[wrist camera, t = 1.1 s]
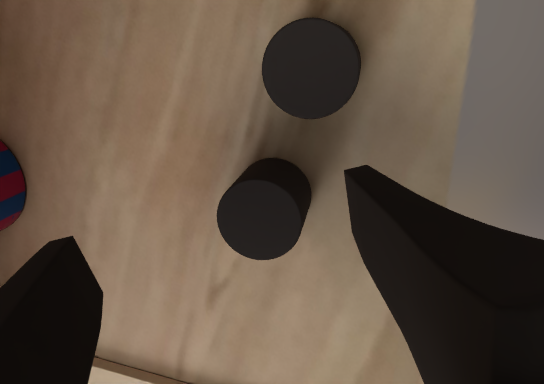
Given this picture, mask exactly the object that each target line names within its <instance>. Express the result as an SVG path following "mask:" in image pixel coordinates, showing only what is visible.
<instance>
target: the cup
mask: <svg viewBox="0 0 544 384" xmlns="http://www.w3.org/2000/svg"><path fill="white" fill-rule="evenodd" d="M24 202H25V182H24V178H23V174H22V171H21V169H20V166H19V164H18V162H17V161H16V159H15V157H14V156H13V154H12V153H11V152H10V150H9V149H8V148H7V147H6V146H5V145H4V144H3V143H2V142H1V141H0V231H1V230H3V229H5V228H7V227H8V226H9V225H11V224H12V223H14V221H15V220H16V219H17V218H18V217H19V215H20V213H21V211H22V209H23V206H24Z"/></svg>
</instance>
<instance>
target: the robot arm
mask: <svg viewBox="0 0 544 384" xmlns="http://www.w3.org/2000/svg"><path fill="white" fill-rule="evenodd" d="M344 175H345V182H346V190H347V197H348V205H349V213H350V220H351V228H352V233H353V236H354V239H355V241H356V244H357V247H358V249H359V252H360V254H361V257H362V259H363V262H364V264H365V266H366V268H367V270H368V271H369V273H370V275H371V277H372V279H373V281H374V282H375V284H376V286H377V288H378V290H379V291H380V293H381V295H382V297H383V299H384V300H385V302H386V304H387V306H388V308H389V310H390V311H391V313H392V315H393V317H394V319H395V320H396V322H397V324H398V326H399V328H400V330H401V332H402V334H403V336H404V338H405V340H406V342H407V344H408V346H409V348H410V351H411V353H412V356H413V358H414V360H415V363H416V365H417V367H418V370H419V372H420V375H421V377H422V379H423V382H424V384H544V240H542V239H537V238H533V237H529V236H525V235H522V234H518V233H514V232H511V231H507V230H504V229H500V228H497V227H494V226H491V225H487V224H485V223H482V222H479V221H477V220H474V219H471V218H469V217H466V216H463V215H461V214H458V213H456V212H454V211H451V210H449V209H447V208H445V207H443V206H440V205H438V204H436V203H434V202H432V201H430V200H428V199H426V198H424V197H422V196H420V195H418V194H416V193H414V192H413V191H411V190H409V189H407V188H405V187H404V186H402V185H400V184H398V183H397V182H395V181H393V180H392V179H390V178H388V177H387V176H385V175H383V174H382V173H380V172H378V171H377V170H375V169H373V168H372V167H370V166H368V165H364V166H359V167H355V168H351V169H347V170H344ZM102 306H103V291H102V290H101V288H100V286H99V284H98V282H97V280H96V278H95V276H94V275H93V273H92V271H91V269H90V267H89V265H88V263H87V261H86V260H85V258H84V256H83V254H82V252H81V250H80V248H79V246H78V245H77V243H76V241H75V239H74V237H73V236H70V237H66V238H62V239H57V240H53V241H50V242H48V243H47V244H46V245H45V246H43V247H42V248H41V249H40V250H39V251H38V252H37V253H36V254H35V255H34V256H33V257H31V258H30V259H29V260H28V261H27V262H26V263H25V264H24V265H23V266H22V267H21V268H20V269H19V270H18V271H17V272H16V273H15V274H14V275H13V276H12V277H11V278H10V279H9V280H8V281H7V282H6V283H5V284H4V285H3V286H2V287H1V288H0V384H88V381H89V377H90V373H91V368H92V364H93V360H94V356H95V351H96V347H97V342H98V338H99V333H100V328H101V319H102Z"/></svg>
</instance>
